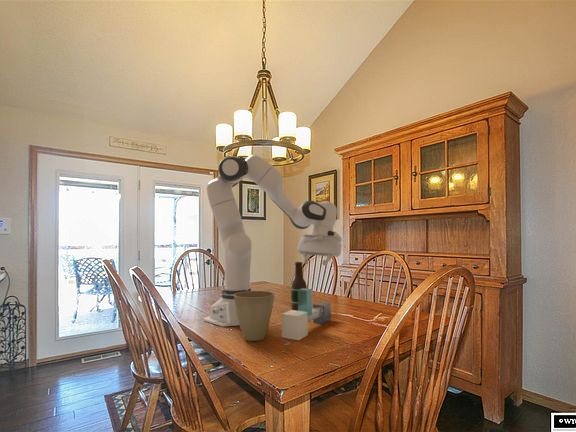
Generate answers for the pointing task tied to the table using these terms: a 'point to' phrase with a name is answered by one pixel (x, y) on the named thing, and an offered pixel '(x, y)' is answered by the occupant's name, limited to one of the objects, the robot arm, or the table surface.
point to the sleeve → (325, 314)
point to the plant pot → (254, 313)
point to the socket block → (294, 324)
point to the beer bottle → (297, 285)
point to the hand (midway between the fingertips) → (314, 264)
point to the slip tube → (307, 304)
